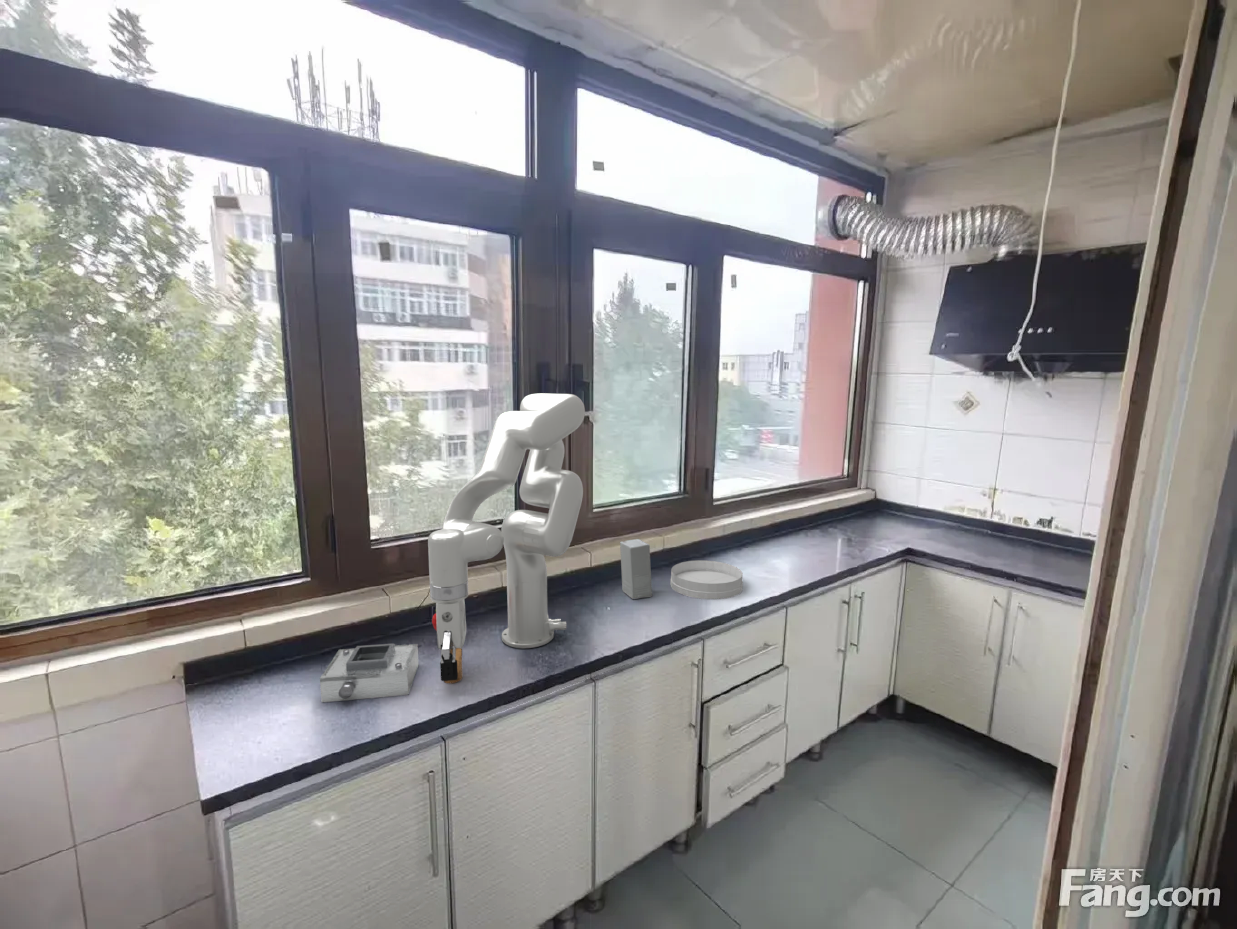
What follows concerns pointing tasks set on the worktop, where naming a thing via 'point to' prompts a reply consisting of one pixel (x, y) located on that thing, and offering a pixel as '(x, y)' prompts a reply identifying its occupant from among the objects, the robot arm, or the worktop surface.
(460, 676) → the spout can
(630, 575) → the skincare box
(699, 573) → the dish
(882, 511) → the worktop surface
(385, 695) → the plate
